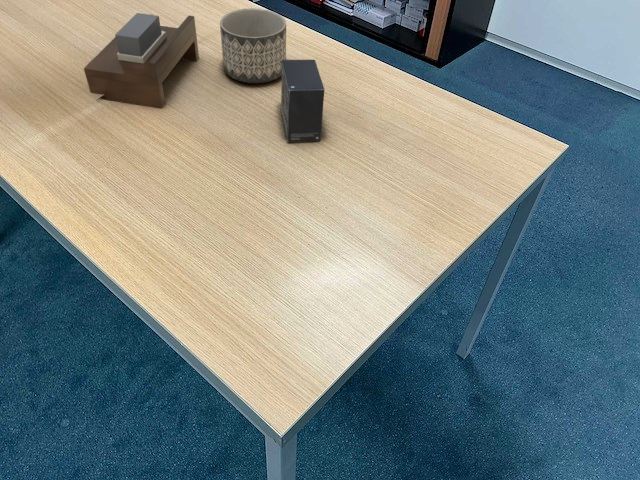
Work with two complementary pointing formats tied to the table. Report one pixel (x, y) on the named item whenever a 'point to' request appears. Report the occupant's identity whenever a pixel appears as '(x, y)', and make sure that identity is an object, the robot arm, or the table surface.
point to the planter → (253, 44)
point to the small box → (301, 100)
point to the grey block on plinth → (139, 38)
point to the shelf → (142, 68)
